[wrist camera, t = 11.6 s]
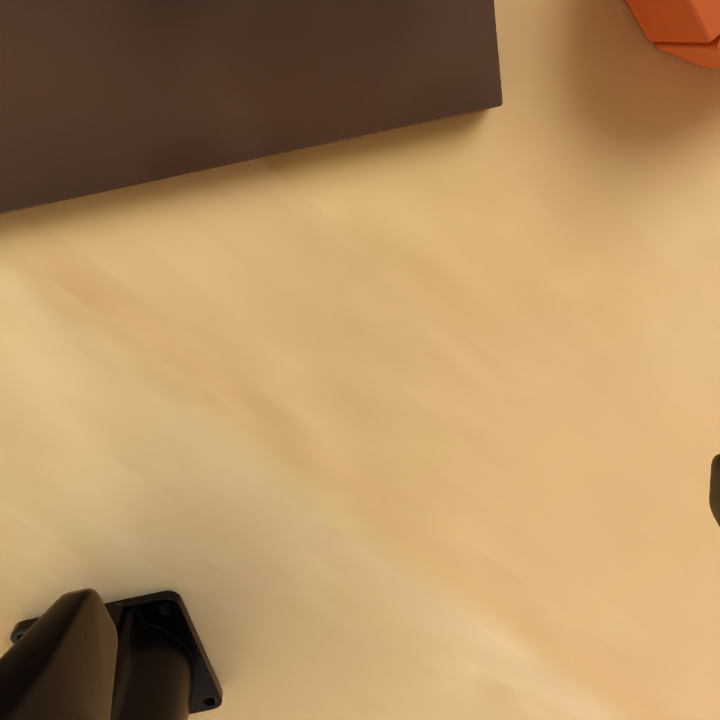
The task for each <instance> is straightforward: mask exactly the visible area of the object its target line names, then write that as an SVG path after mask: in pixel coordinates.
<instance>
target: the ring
mask: <svg viewBox="0 0 720 720" xmlns="http://www.w3.org/2000/svg"><path fill="white" fill-rule="evenodd" d="M626 2H627V4H628V6H629V7H630V9H631V11H632V12H633V14H634V16H635V18H636V19H637V21H638V23H639V25H640V26H641V28H642V30H643V32H644V33H645V35H646V37H647V39H648V40H649V41H651V42H656V44H655V47H656V48H658V49H660V50H662V51H665V52H667V53H669V54H672V55H674V56H676V57H679V58H681V59H683V60H686V61H688V62H690V63H693V64H695V65H698V66H700V67H705V68H716V69H720V0H626Z"/></svg>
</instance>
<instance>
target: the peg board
mask: <svg viewBox="0 0 720 720" xmlns="http://www.w3.org/2000/svg"><path fill="white" fill-rule="evenodd" d="M502 103H503V102H502V91H501V79H500V68H499V56H498V45H497V33H496V22H495V10H494V0H0V214H4V213H8V212H13V211H18V210H22V209H27V208H31V207H36V206H41V205H45V204H50V203H55V202H59V201H64V200H68V199H73V198H78V197H82V196H87V195H92V194H96V193H101V192H105V191H110V190H115V189H119V188H124V187H129V186H133V185H138V184H142V183H147V182H152V181H156V180H161V179H166V178H170V177H175V176H179V175H184V174H189V173H193V172H198V171H203V170H207V169H212V168H216V167H221V166H226V165H230V164H235V163H240V162H244V161H249V160H253V159H258V158H263V157H267V156H272V155H277V154H281V153H286V152H290V151H295V150H300V149H304V148H309V147H314V146H318V145H323V144H327V143H332V142H337V141H341V140H346V139H351V138H355V137H360V136H364V135H369V134H374V133H378V132H383V131H388V130H392V129H397V128H401V127H406V126H411V125H415V124H420V123H425V122H429V121H434V120H438V119H443V118H448V117H452V116H457V115H462V114H466V113H471V112H475V111H480V110H485V109H489V108H494V107H499V106H501V105H502Z"/></svg>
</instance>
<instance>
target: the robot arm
mask: <svg viewBox="0 0 720 720" xmlns="http://www.w3.org/2000/svg"><path fill="white" fill-rule="evenodd" d="M709 503H710V508H711V511H712V513H713V516H714V518H715V519H716V521H717V523H718V524H719V526H720V454H718V455H716V456H715V457H714V458H713V460H712V464H711V478H710V493H709ZM165 604H170V605H165ZM10 638H11V641H12V643H13V644H14V645H13V646H12V647H11V648H10V649H9V650H8V651H7V652H6V653H5V654H4V655H3V656H2V657H1V658H0V720H188V715H189V714H192V713H197V712H202V711H206V710H211V709H215V708H217V707H219V706H220V705H221V703H222V695H223V692H222V689H221V686H220V684H219V682H218V680H217V677H216V675H215V673H214V670H213V668H212V666H211V664H210V661H209V659H208V657H207V655H206V652H205V650H204V648H203V646H202V643H201V641H200V639H199V636H198V634H197V632H196V630H195V627H194V625H193V623H192V621H191V618H190V616H189V614H188V612H187V609H186V607H185V605H184V602H183V600H182V598H181V597H180V595H179V594H177V593H176V592H173V591H162V592H158V593H153V594H148V595H144V596H139V597H134V598H129V599H125V600H120V601H115V602H111V603H106V604H103V602H102V600H101V598H100V596H99V594H98V593H97V592H96V591H95V590H94V589H90V588H88V589H83V590H78V591H74V592H69V593H66V594H64V595H62V596H61V597H60V598H59V599H58V600H57V601H56V602H55V603H54V604H53V605H52V606H51V607H50V608H49V609H48V610H47V611H46V612H45V613H44V614H43V615H42V616H41V617H40V618H35V619H30V620H26V621H22V622H19V623H18V624H17V625H16V626H15V628H14V630H13V632H12V634H11V637H10Z"/></svg>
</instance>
